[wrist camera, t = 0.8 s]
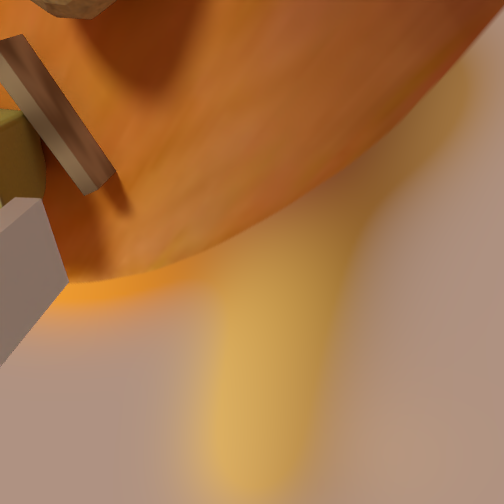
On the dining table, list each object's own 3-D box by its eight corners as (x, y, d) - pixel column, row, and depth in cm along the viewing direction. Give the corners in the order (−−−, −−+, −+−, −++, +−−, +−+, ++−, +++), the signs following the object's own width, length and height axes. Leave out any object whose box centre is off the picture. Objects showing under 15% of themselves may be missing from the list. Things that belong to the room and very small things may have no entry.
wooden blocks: (-86, 110, 40) (-120, 123, 37) (22, 34, 35) (-7, 42, 32) (9, 222, 45) (-14, 242, 42) (116, 171, 40) (98, 189, 37)
